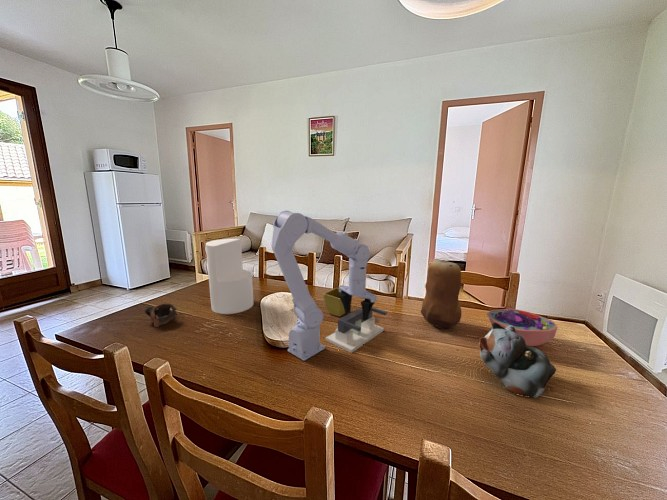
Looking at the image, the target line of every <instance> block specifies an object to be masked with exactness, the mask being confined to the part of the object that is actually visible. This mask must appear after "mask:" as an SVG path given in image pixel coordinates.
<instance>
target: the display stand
mask: <svg viewBox="0 0 667 500" xmlns="http://www.w3.org/2000/svg"><path fill="white" fill-rule="evenodd" d="M375 322H376V317H374V316H372V317H371V318H369V319H368V320H366V321H364V322H363V323H361V319H359V320H357V321H355V325H357V326H359V327H361V330H360V331H357V330H354V329H351V330H349V331H347V332H345V333H341V332H339V331H338V327H337V328H335V331H334V332H332V333H331V334H329V335H327V336H326V337H325V341H327V342H328V343H331V344H332V345H334V346H336V347H339V348H340V349H343V350H345V351H346V352H349V353H350V352H351V354H352V353H353V352H355V351H356V350H358V349H359V348H361V347H362V346H363V344H364V345H365V344H366V343H368V342H370V341H371V340H372V339H373V338H375V337H376V336H378V335H379V334H381V333H382V332H383V331H384V330H385V328H384V327H382V326H380V325H378V324H377V325H376V323H375Z"/></svg>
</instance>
